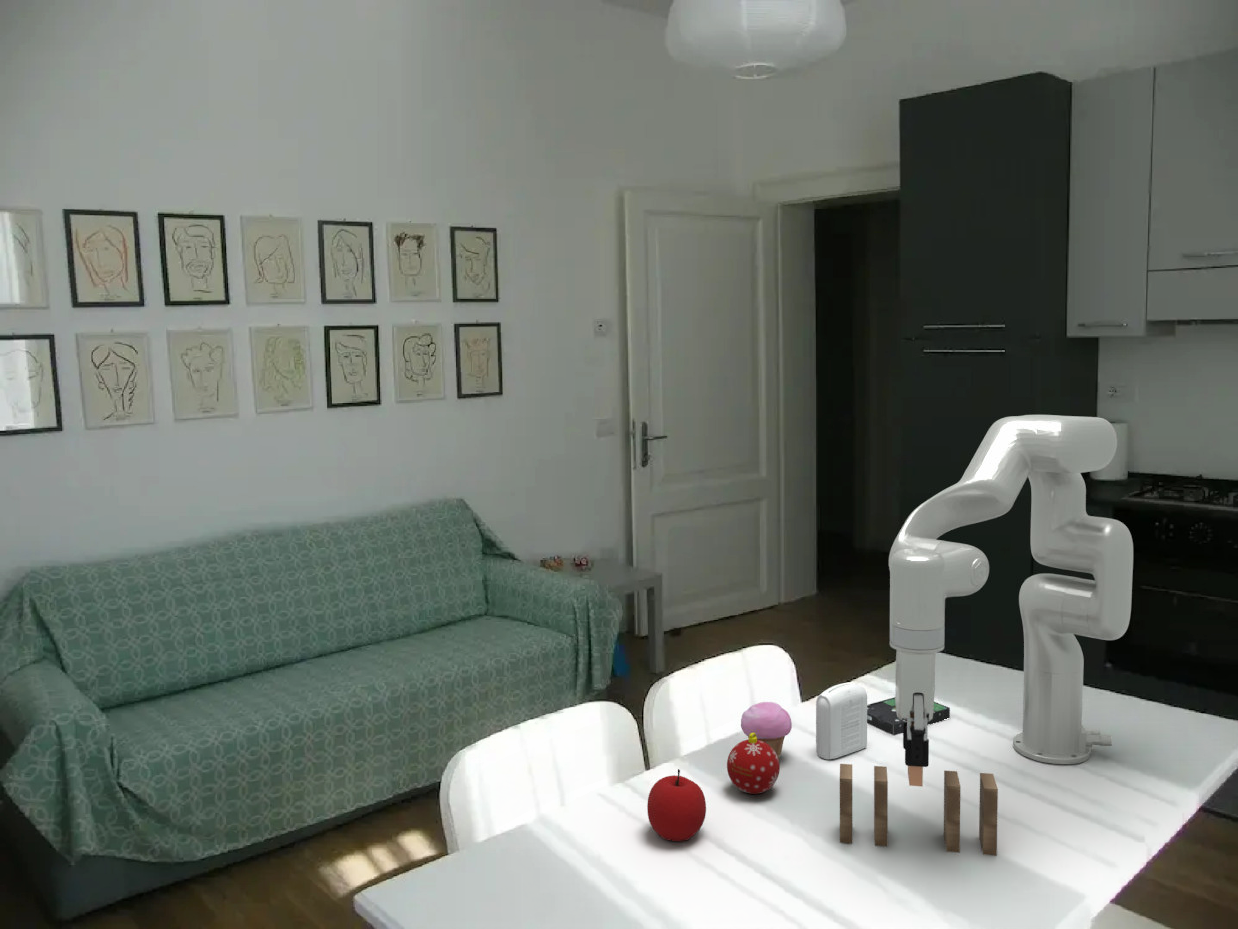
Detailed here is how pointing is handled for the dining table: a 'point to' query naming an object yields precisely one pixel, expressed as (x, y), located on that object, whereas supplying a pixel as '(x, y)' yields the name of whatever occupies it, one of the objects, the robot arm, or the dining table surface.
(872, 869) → the dining table surface
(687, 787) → the apple
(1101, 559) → the robot arm
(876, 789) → the domino
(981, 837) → the domino
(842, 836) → the domino
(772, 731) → the cupcake
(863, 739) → the photo printer
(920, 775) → the domino
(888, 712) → the disk drive
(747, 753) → the christmas ornament
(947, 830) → the domino
